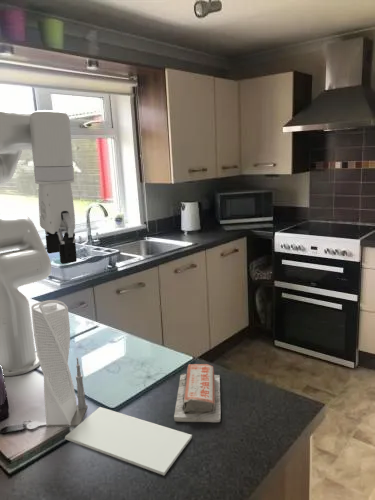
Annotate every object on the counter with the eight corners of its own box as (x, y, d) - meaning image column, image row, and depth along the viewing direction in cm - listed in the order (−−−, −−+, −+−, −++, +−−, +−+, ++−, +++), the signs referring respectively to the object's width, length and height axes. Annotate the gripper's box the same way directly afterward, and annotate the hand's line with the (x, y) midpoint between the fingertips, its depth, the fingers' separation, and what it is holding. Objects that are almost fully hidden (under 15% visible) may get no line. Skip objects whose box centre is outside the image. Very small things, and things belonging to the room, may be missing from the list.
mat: (65, 439, 83) (64, 436, 83) (100, 409, 93) (99, 406, 92) (164, 475, 73) (164, 472, 73) (191, 437, 82) (191, 435, 82)
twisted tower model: (77, 430, 85) (64, 303, 79) (38, 431, 86) (22, 304, 79) (87, 406, 94) (75, 289, 87) (51, 407, 94) (37, 290, 87)
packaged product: (179, 361, 104) (219, 361, 103) (180, 378, 105) (219, 379, 104) (172, 403, 86) (220, 403, 86) (173, 423, 87) (220, 424, 87)
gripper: (25, 173, 88) (33, 251, 92) (47, 179, 74) (55, 270, 78) (60, 172, 92) (66, 246, 96) (87, 177, 78) (93, 263, 82)
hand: (61, 257), depth 87 cm, fingers open, 9 cm apart
